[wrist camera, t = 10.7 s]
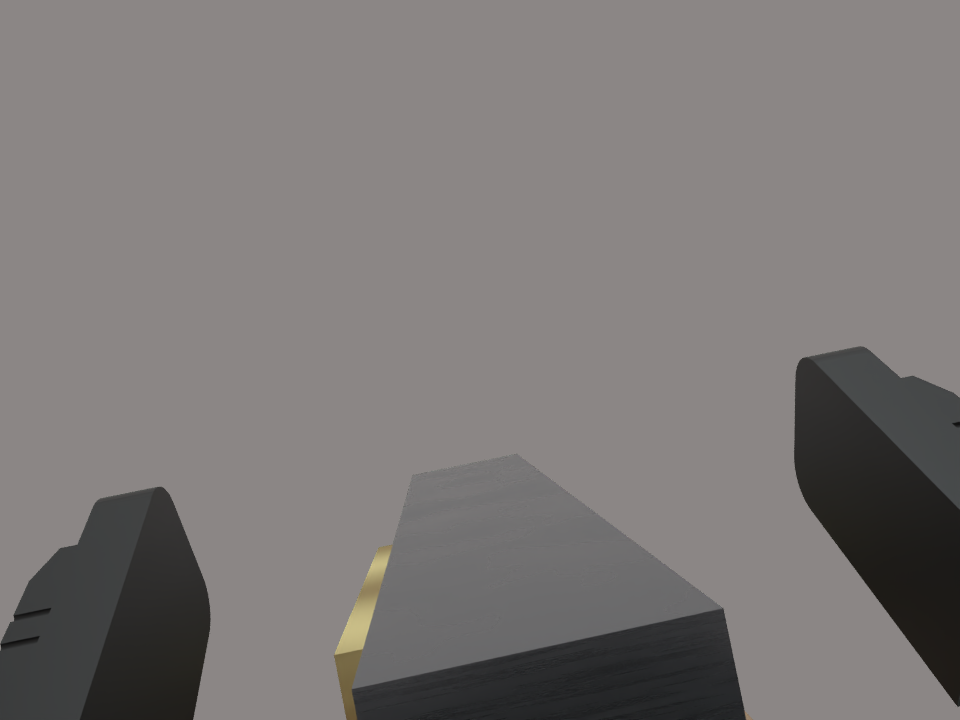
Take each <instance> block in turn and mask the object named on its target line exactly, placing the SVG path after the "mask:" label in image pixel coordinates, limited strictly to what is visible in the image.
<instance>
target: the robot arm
mask: <svg viewBox="0 0 960 720" xmlns="http://www.w3.org/2000/svg"><path fill="white" fill-rule="evenodd" d="M795 388H796V389H795V445H794V446H795V447H794V449H795V450H794V460H795V461H794V462H795V470H796V475H797V479H798V483H799V486H800V489H801V492H802V494H803V497H804V499H805V501H806V503H807V504H808V506H809V508H810V509H811V511H812V512H813V513H814V515H815V516H816V517H817V518H818V520H819V521H820V523H822V525H823V527H824V528H825V529H826V531H827V532H828V533H829V534H830V536H831V537H832V539H833V540H834V541H835V543H836V544H837V545H838V547H839V548H840V549H841V551H842V552H843V553H844V555H845V556H846V557H847V559H848V560H849V561H850V563H851V564H852V565H853V567H854V568H855V570H856V571H857V572H858V574H859V575H860V576H861V577H862V579H863V580H864V582H865V583H866V584H867V586H868V587H869V588H870V590H871V591H872V592H873V594H874V595H875V596H876V598H877V599H878V600H879V602H880V603H881V604H882V606H883V607H884V609H885V610H886V611H887V612H888V614H889V615H890V617H891V618H892V619H893V621H894V622H895V623H896V625H897V626H898V627H899V629H900V630H901V631H902V633H903V634H904V635H905V636H906V638H907V639H908V641H909V642H910V643H911V645H912V646H913V647H914V649H915V650H916V651H917V653H918V654H919V655H920V657H921V658H922V659H923V661H924V662H925V664H926V665H927V666H928V668H929V669H930V670H931V672H932V673H933V674H934V676H935V677H936V678H937V680H938V681H939V682H940V684H941V685H942V686H943V688H944V689H945V690H946V692H947V693H948V694H949V696H950V697H951V698H952V700H953V701H954V702H955V704H956V705H957V706H958V707H959V706H960V398H959V397H958V396H957V395H955V394H954V393H952V392H950V391H948V390H945V389H943V388H941V387H938V386H936V385H933V384H931V383H929V382H926V381H924V380H922V379H919V378H917V377H914V376H910V377H905V378H900V377H899V376H898V375H897V374H896V373H894V372H893V371H892V370H891V369H890V368H889V367H888V366H887V365H885V364H884V363H883V362H882V361H881V360H880V359H879V358H877V357H876V356H875V355H874V354H873V353H872V352H871V351H869V350H868V349H867V348H865V347H855V348H850V349H845V350H840V351H835V352H830V353H825V354H820V355H815V356H810V357H806V358H802V359H801V360H800V361H799V363H798V366H797V370H796V382H795ZM209 632H210V605H209V598H208V593H207V588H206V585H205V581H204V579H203V576H202V574H201V571H200V569H199V566H198V563H197V561H196V558H195V556H194V554H193V551H192V549H191V546H190V543H189V541H188V539H187V536H186V534H185V531H184V529H183V526H182V523H181V521H180V518H179V516H178V513H177V511H176V508H175V506H174V503H173V501H172V499H171V497H170V495H169V493H168V492H167V491H166V490H165V489H164V488H163V487H155V488H151V489H146V490H140V491H135V492H131V493H126V494H121V495H116V496H111V497H106V498H101V499H99V500H98V501H97V502H96V503H95V505H94V506H93V509H92V511H91V513H90V516H89V518H88V521H87V523H86V526H85V528H84V530H83V533H82V535H81V538H80V540H79V543H78V545H75V546H69V547H64V548H60V549H59V550H58V551H57V552H56V553H55V554H54V555H53V556H52V558H51V559H50V560H49V561H48V562H47V563H46V564H45V565H44V566H43V567H42V568H41V569H40V571H38V572H37V573H36V575H35V576H34V577H33V578H32V579H31V580H30V581H29V583H28V585H27V587H26V589H25V591H24V594H23V596H22V598H21V600H20V602H19V605H18V607H17V609H16V611H15V613H14V622H10V624H9V626H8V628H7V631H6V633H5V635H4V637H3V639H2V641H1V651H0V720H193V717H194V712H195V707H196V702H197V696H198V690H199V685H200V680H201V674H202V669H203V664H204V659H205V653H206V648H207V642H208V637H209Z"/></svg>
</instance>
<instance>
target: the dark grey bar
mask: <svg viewBox="0 0 960 720" xmlns="http://www.w3.org/2000/svg"><path fill="white" fill-rule="evenodd" d="M351 690H352V695H353V700H354V705H355V710H356V715H357V720H746V716H745V711H744V706H743V702H742V697H741V692H740V687H739V683H738V677H737V673H736V668H735V663H734V658H733V654H732V648H731V643H730V639H729V634H728V629H727V624H726V619H725V614H724V610H723V608H722V607H721V606H720V605H718V604H717V603H715V602H714V601H713V600H712V599H710V598H709V597H707V596H706V595H705V594H703V593H702V592H701V591H699V590H698V589H697V588H695V587H694V586H693V585H691V584H690V583H689V582H687V581H686V580H685V579H683V578H682V577H681V576H679V575H678V574H677V573H675V572H674V571H673V570H671V569H670V568H669V567H667V566H666V565H665V564H663V563H662V562H661V561H659V560H658V559H657V558H655V557H654V556H653V555H651V554H650V553H649V552H647V551H646V550H645V549H643V548H642V547H641V546H639V545H638V544H636V543H635V542H634V541H633V540H631V539H630V538H629V537H627V536H626V535H624V534H623V533H622V532H621V531H619V530H618V529H617V528H615V527H614V526H613V525H611V524H610V523H608V522H607V521H606V520H605V519H603V518H602V517H600V516H599V515H598V514H596V513H595V512H594V511H592V510H591V509H590V508H589V507H587V506H586V505H585V504H583V503H582V502H580V501H579V500H578V499H577V498H575V497H574V496H572V495H571V494H570V493H568V492H567V491H566V490H564V489H563V488H562V487H560V486H559V485H558V484H556V483H555V482H554V481H552V480H551V479H550V478H548V477H547V476H546V475H544V474H543V473H541V472H540V471H539V470H538V469H536V468H535V467H534V466H532V465H531V464H530V463H528V462H527V461H526V460H524V459H523V458H522V457H520V456H519V455H518V454H514V455H509V456H504V457H500V458H495V459H490V460H485V461H480V462H475V463H470V464H466V465H460V466H455V467H451V468H446V469H441V470H436V471H431V472H426V473H421V474H417V475H413V476H412V479H411V482H410V486H409V489H408V493H407V497H406V500H405V504H404V507H403V511H402V514H401V518H400V521H399V525H398V528H397V532H396V535H395V539H394V542H393V546H392V549H391V553H390V556H389V560H388V563H387V567H386V570H385V574H384V577H383V581H382V584H381V588H380V591H379V595H378V598H377V602H376V605H375V609H374V612H373V616H372V619H371V623H370V626H369V630H368V633H367V637H366V640H365V644H364V647H363V651H362V654H361V658H360V661H359V665H358V668H357V672H356V675H355V679H354V682H353V686H352V689H351Z"/></svg>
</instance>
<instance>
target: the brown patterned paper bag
mask: <svg viewBox="0 0 960 720" xmlns="http://www.w3.org/2000/svg"><path fill="white" fill-rule="evenodd" d="M392 546H393V545H389V546H384V547H379V548H378V551H377V553H376V555H375V558H374V560H373V563H372V565H371V567H370V570H369V572H368V575H367V577H366V579H365V582H364V584H363V587H362V589H361V592H360V594H359V596H358V599H357V601H356V604H355V606H354V609H353V611H352V614H351V616H350V618H349V620H348V623H347V625H346V628H345V630H344V633H343V635H342V637H341V640H340V643H339V645H338V647H337V649H336V652H335V655H334V657H335V662H336V667H337V672H338V677H339V682H340V687H341V693H342V698H343V703H344V708H345V714H346V718H347V720H357V715H356V710H355V705H354V700H353V695H352V690H351V689H352V686H353V682H354V679H355V675H356V672H357V668H358V665H359V661H360V658H361V654H362V651H363V647H364V644H365V640H366V637H367V633H368V630H369V626H370V623H371V619H372V616H373V612H374V609H375V605H376V602H377V598H378V595H379V591H380V588H381V584H382V581H383V577H384V574H385V570H386V567H387V563H388V560H389V556H390V553H391V549H392ZM745 716H746V720H753V719H752V718H751V717H750V716H749V715H748V714H747V713H746V712H745Z"/></svg>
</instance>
